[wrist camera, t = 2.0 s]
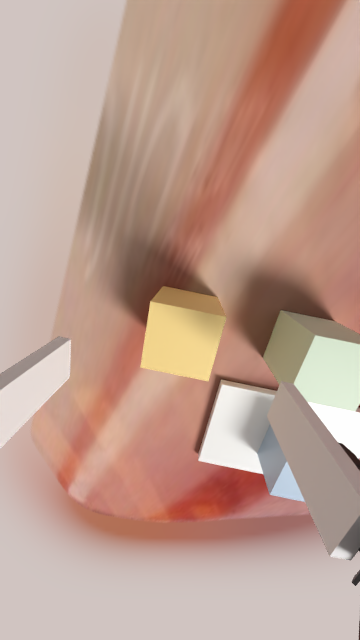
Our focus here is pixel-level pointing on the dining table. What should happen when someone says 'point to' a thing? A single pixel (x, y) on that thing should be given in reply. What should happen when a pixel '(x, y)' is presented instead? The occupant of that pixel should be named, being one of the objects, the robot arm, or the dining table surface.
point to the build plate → (264, 435)
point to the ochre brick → (183, 333)
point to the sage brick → (316, 359)
